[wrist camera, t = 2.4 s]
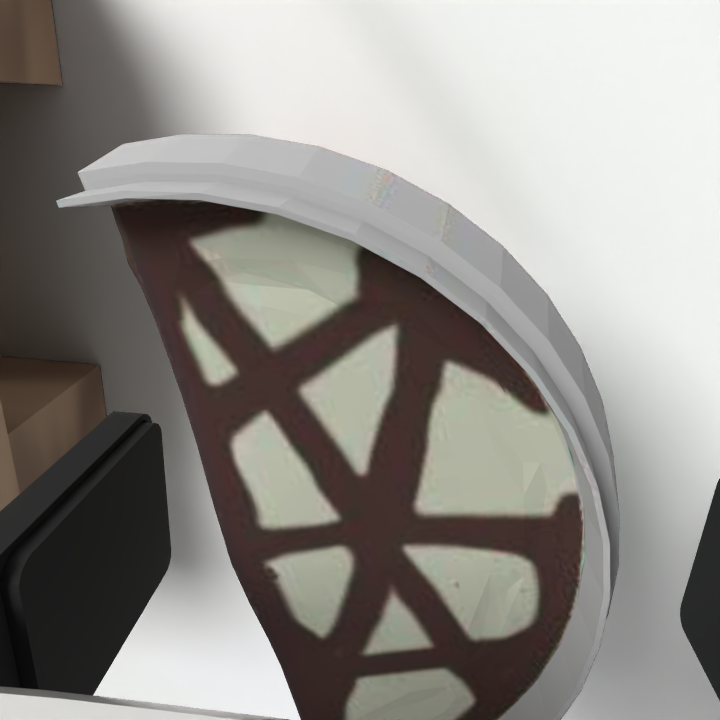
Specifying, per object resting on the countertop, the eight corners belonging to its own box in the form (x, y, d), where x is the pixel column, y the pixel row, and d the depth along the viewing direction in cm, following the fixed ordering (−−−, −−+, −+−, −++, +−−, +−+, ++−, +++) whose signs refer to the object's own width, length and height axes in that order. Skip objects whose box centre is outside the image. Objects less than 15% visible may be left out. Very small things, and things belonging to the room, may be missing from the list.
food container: (557, 491, 19) (679, 846, 10) (367, 516, 20) (316, 855, 11) (500, 70, 15) (620, -5, 6) (263, 130, 16) (34, 152, 7)
